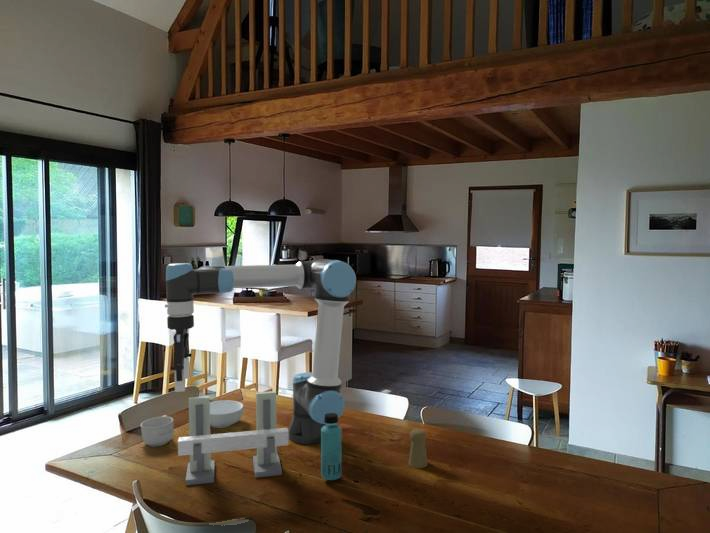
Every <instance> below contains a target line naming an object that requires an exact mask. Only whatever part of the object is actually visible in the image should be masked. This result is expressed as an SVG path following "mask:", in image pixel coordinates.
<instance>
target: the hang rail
mask: <svg viewBox="0 0 710 533" xmlns="http://www.w3.org/2000/svg"><path fill="white" fill-rule="evenodd" d="M271 438H275V446H277V447H281V446H283V447H285V446H289V428H288V427H281V428H278V427H276V429H266V430H257V429H256V430H245V431H234V432H233V431H232V432H224V433H213V434H211V433H210V435H200V436H179V437H178V440H177V454H178V457H182V456H190V455H193V446H197V445H201V454H203V453H220V452H230V451H231V452H232V451H243V450H251V449H257V448H264V447H267V439H271Z"/></svg>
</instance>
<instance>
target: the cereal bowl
mask: <svg viewBox="0 0 710 533" xmlns="http://www.w3.org/2000/svg"><path fill="white" fill-rule="evenodd" d="M243 414H244V404H243V403H241V402H240V401H236V400H229V399H228V400H226V399H223V400H221V399H220V400H214V401H210V428H214V429H223V428H224V429H225V428H228V427H230V426H231V425H234V424H235V423H237V422H239V421H240V420H241V419H242V417H243Z"/></svg>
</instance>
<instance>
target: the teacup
mask: <svg viewBox="0 0 710 533" xmlns="http://www.w3.org/2000/svg"><path fill="white" fill-rule="evenodd" d="M139 426H140V431H141V437H142V442H144V444H145V445H148V446H149V447H152V448H157V447H162V446H165V445H166V444H168V443H169V442H170V441H172V439H173V437H174V434H175V432H174V431H175V429H174V418H173V417H172V416H168V415H166V414H164V415H162V416H156V417H152V418H148V419H146V420H144V421H142V422H141V423H140V425H139Z"/></svg>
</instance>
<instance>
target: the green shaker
mask: <svg viewBox="0 0 710 533" xmlns="http://www.w3.org/2000/svg"><path fill="white" fill-rule="evenodd" d="M409 438H410V440H411V442H410V449H409V450H410V451H409V458H408V465H409V466H410V467H411V468H415V469H424V468H426V467H427V466H428V458H427V449H426V442H425V441H426V439H427V433H426V431H425V429H422V428H413V429H412V430H411V431H410V433H409Z"/></svg>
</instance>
